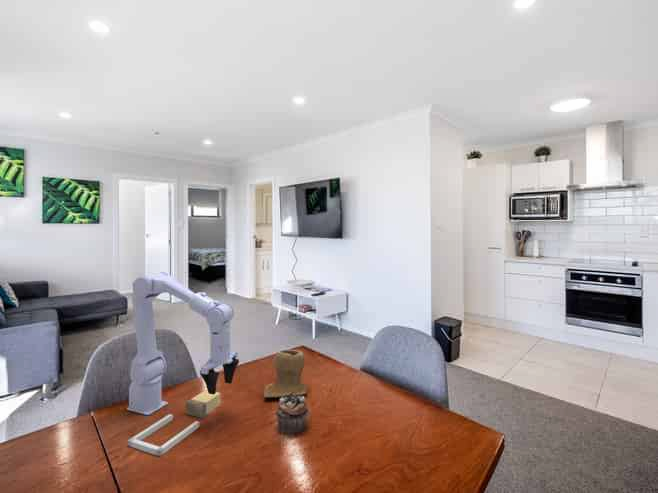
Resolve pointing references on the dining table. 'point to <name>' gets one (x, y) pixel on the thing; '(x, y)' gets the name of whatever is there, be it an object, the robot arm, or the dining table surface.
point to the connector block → (203, 404)
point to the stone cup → (287, 374)
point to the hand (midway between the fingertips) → (220, 387)
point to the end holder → (159, 451)
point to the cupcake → (292, 414)
